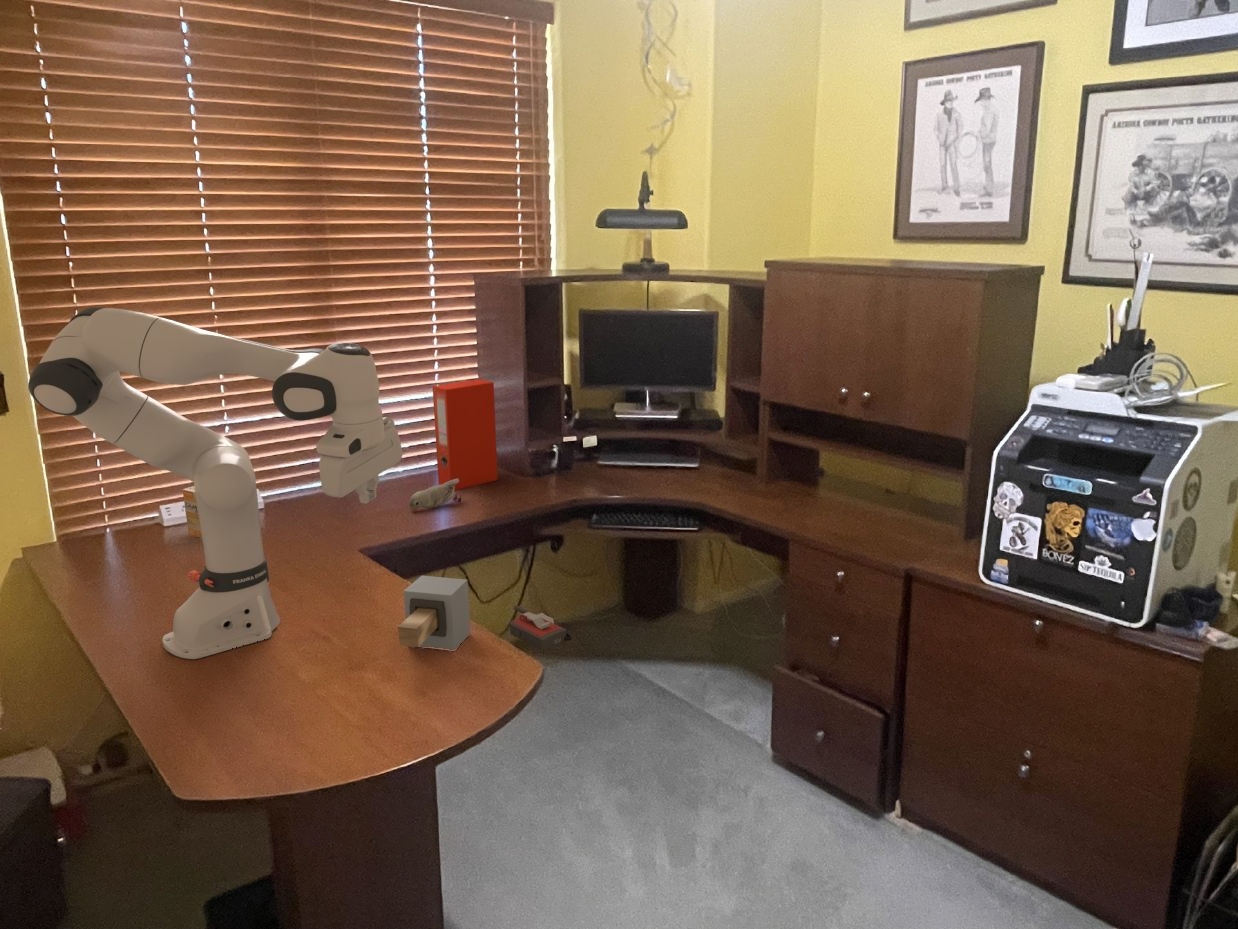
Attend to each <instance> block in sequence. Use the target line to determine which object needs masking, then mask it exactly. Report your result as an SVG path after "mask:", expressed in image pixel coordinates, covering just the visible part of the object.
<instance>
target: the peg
mask: <svg viewBox="0 0 1238 929" xmlns="http://www.w3.org/2000/svg"><path fill="white" fill-rule="evenodd" d="M438 627H439V620H438V608H430V607H419V608H418V609H417V610H415V611H414V612H413V613H412V614H411V615H410V616H409V617H408V618H407V619H406V618H405V620H403V621H402V622H401V623H400V624H399V625H398V626H397V633H398V645H399V646H403V647H408V646H410V647H409V648H415V647H419V646H420V645H421V644H422V643H423V642H424V641H425V640H426V639H427V638H428V637H429V636H430V635H431V634H432V633H433V632H434V631H435V630H436V629H437V628H438Z"/></svg>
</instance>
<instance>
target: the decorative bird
mask: <svg viewBox="0 0 1238 929" xmlns="http://www.w3.org/2000/svg"><path fill="white" fill-rule="evenodd" d="M458 482H459V480H458V478H457V479H454V480H450V481H448V482H446V483H444V484H442V485H439V484H438V485H432V486H430V487H428V488H426V489H424V490H418V491H416V492H415V493H413V494H412V496H411V497H410V499H409V507H410V512H411V514H413V513H415V511H417V510H418V509H419V508H426V509H433V508H437V507H439V506H442V505H445V504H446V503H448V502H449V501H450V500H451V499H452V498H453V499H452V500H453V502H456V501H457V502H458V503H459V504H462V495H460V496H459V498H458V497H457V495H458V493H457V492H456V493H455V491H456V490H455V485H456V484H457V483H458Z"/></svg>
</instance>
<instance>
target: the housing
mask: <svg viewBox="0 0 1238 929" xmlns="http://www.w3.org/2000/svg"><path fill="white" fill-rule="evenodd" d="M468 582H469V581H468V579H465V578H463V579H462V578H451V577H442V576H433V575H420V576H419V577H418V578H417V579H416V580H414V581H413V582H412V583H411V584H410V585H409V586H408V587H406V588H405V589H404V590H403V598H404V599H403V600H404V602H403V603H404V612H405V614H404V615H405V620H406V619H407V618H408V617H409V616H410V615H411V614H412V613H413V612H414V611H415V610H417V609H418V608H419V607H430V608H438V620H439V627H438V628H437V629H436V630H435V631H434V632H433V633H432V634H431V635H430V636H429V637H428V638H427V639H426V640H425V641H424V642H423V643H422V644H421V645H420V647H434V648H443V649H449V650H455V649H456V648H457V647H458V646H459V645H460V643H462V641H464V639H466V638H467V636H469V637H470V635H471V634H472V633H471V620H470V619H471V618H470V615H471V614H470V600H469V586H468ZM469 634H470V635H469ZM466 640H467V639H466ZM464 642H465V641H464ZM462 644H463V643H462ZM460 646H461V645H460Z"/></svg>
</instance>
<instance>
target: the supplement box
mask: <svg viewBox="0 0 1238 929" xmlns="http://www.w3.org/2000/svg"><path fill="white" fill-rule="evenodd" d="M182 495H183V496H182V498H183V504H184V510H185V517H186V518H185V519H186V524H187V532H188V535H189V536H193V537H197V538H201V539H202V533H201V526H200V520H199V514H198V507H197V501H196V494H195V488H194V485H193V486H190V487H185V488H182Z"/></svg>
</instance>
